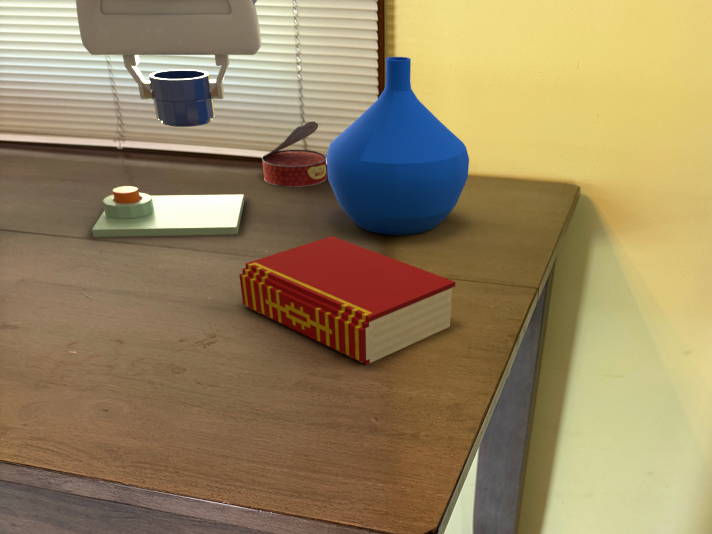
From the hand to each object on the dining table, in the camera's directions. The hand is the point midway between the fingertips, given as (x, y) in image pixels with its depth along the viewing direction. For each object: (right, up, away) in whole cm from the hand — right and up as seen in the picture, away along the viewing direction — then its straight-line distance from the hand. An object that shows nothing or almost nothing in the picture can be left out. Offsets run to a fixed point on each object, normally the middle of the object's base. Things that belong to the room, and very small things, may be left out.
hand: (182, 98), depth 92 cm
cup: (0, -2, +2) cm, 3 cm away
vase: (+26, -11, +10) cm, 30 cm away
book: (+21, -31, -13) cm, 40 cm away
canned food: (+10, +3, +27) cm, 28 cm away
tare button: (-10, -9, +8) cm, 15 cm away
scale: (-4, -11, +10) cm, 15 cm away
